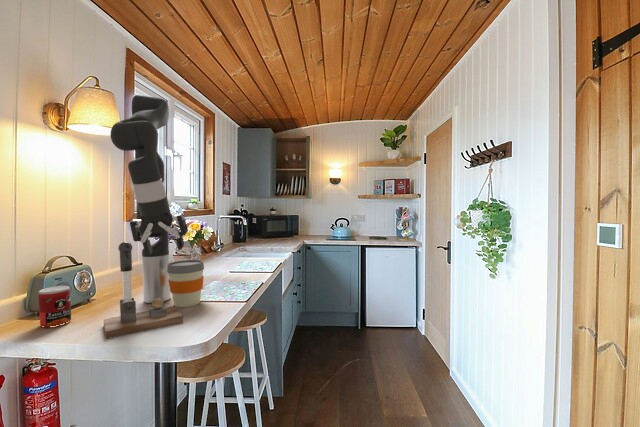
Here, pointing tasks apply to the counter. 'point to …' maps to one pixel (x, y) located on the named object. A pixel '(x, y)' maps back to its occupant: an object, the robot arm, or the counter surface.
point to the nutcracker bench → (141, 318)
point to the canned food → (54, 306)
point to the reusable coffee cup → (186, 282)
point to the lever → (126, 269)
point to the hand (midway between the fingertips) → (165, 250)
